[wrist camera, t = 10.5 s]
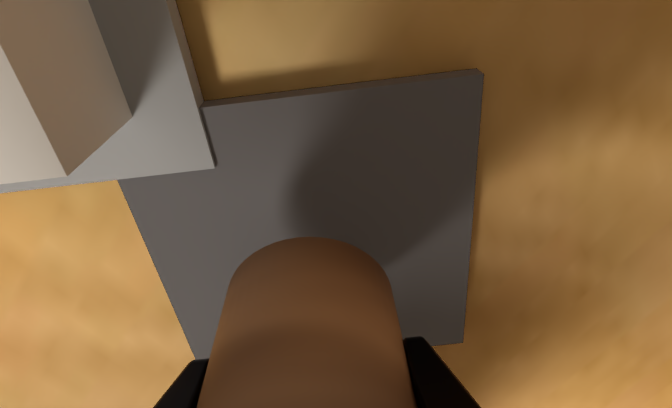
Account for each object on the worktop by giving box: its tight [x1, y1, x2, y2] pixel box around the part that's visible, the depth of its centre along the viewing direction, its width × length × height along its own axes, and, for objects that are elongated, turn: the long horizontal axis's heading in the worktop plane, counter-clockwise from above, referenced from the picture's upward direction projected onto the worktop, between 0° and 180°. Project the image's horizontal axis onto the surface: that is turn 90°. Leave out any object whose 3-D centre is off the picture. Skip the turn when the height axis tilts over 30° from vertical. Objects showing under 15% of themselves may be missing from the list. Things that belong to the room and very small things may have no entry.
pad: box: [118, 68, 484, 360], centre depth 12 cm, size 9×9×1 cm
